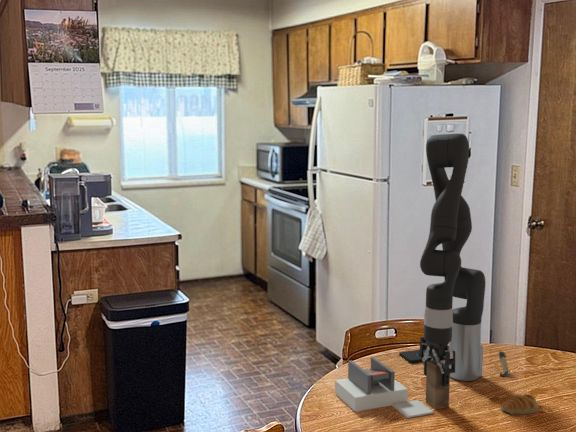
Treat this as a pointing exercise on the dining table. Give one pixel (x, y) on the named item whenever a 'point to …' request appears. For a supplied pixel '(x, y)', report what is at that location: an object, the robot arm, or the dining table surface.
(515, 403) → the pastry
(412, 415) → the mat
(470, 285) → the robot arm
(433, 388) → the peg
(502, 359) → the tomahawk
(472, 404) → the dining table surface
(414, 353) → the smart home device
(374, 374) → the rocker
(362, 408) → the grey slotted holder
